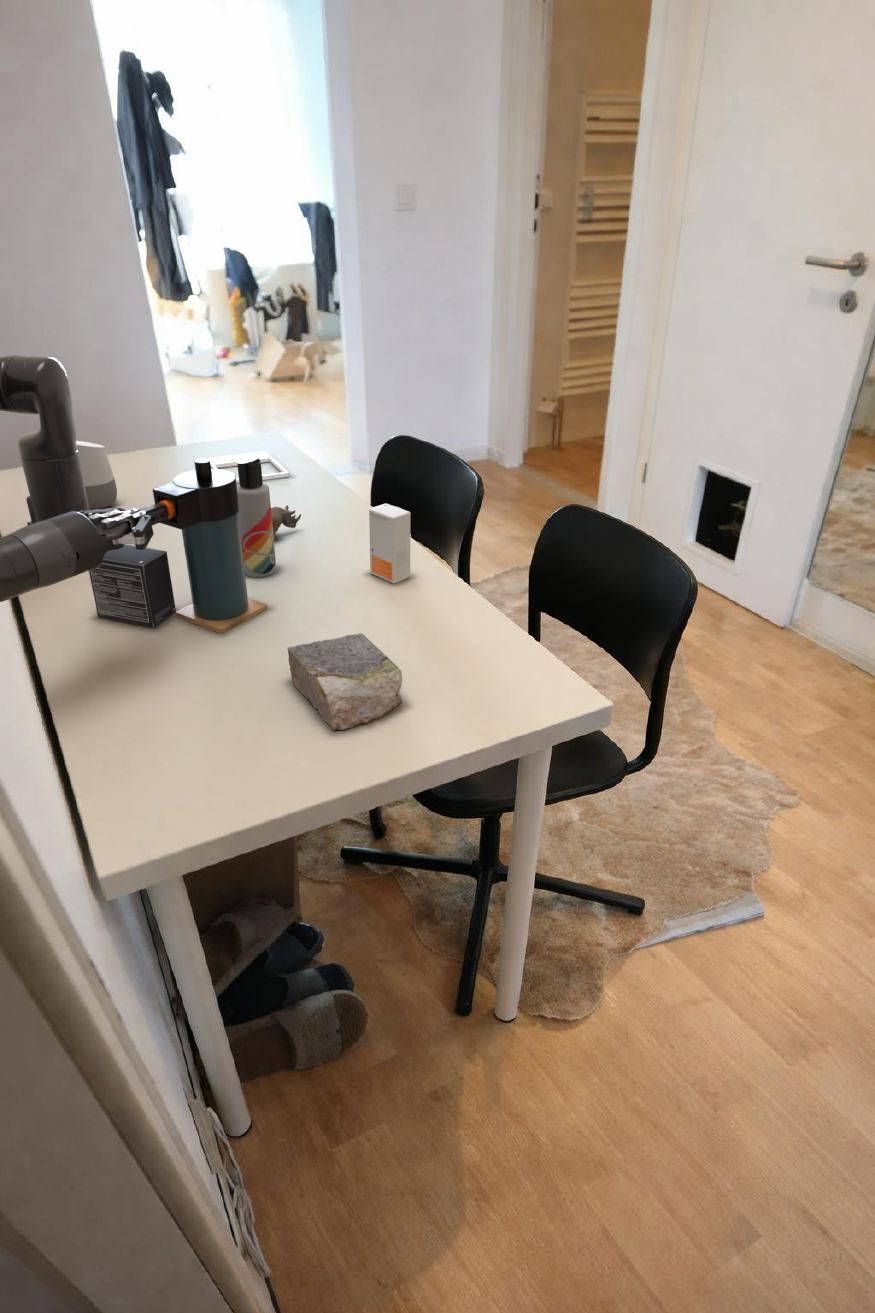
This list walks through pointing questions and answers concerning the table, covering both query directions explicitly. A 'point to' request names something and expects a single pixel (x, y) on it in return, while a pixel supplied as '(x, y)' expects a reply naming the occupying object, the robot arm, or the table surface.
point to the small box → (133, 586)
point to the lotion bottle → (255, 519)
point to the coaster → (221, 625)
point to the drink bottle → (209, 538)
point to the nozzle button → (169, 507)
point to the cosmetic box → (389, 542)
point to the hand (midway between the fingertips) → (163, 510)
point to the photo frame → (233, 459)
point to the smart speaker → (97, 475)
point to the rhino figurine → (283, 519)
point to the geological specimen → (346, 679)
